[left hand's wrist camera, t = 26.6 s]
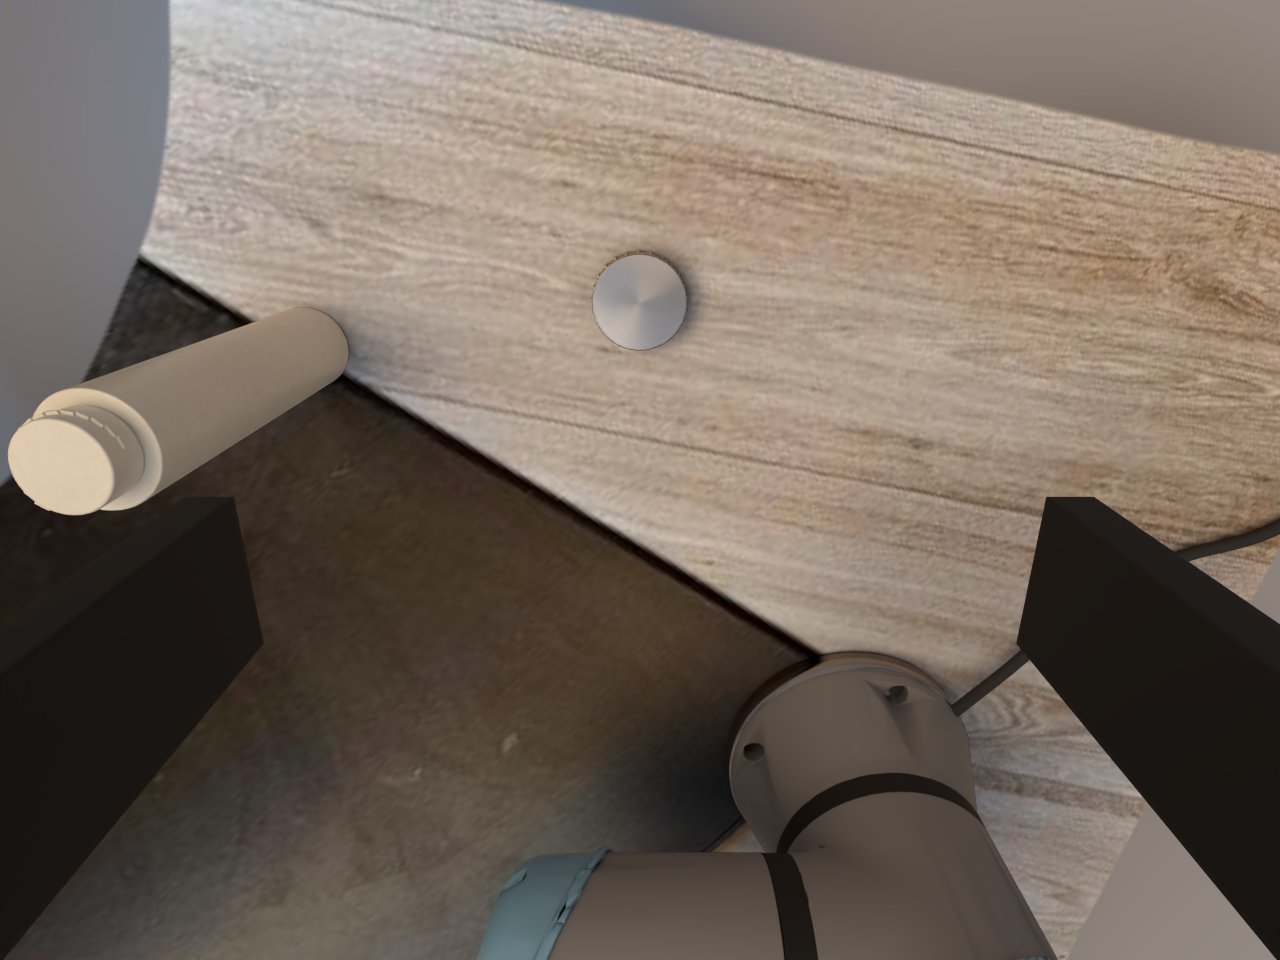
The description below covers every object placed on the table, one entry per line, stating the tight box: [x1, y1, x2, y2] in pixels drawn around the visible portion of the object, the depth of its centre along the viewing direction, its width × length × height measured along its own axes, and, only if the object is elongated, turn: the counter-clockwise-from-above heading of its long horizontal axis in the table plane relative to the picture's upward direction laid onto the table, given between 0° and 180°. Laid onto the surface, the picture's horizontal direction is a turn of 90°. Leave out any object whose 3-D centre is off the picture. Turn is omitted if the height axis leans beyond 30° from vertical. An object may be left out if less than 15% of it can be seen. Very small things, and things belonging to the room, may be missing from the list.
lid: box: [591, 250, 688, 350], centre depth 39 cm, size 5×5×2 cm
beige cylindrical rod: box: [8, 308, 349, 515], centre depth 32 cm, size 4×4×19 cm
